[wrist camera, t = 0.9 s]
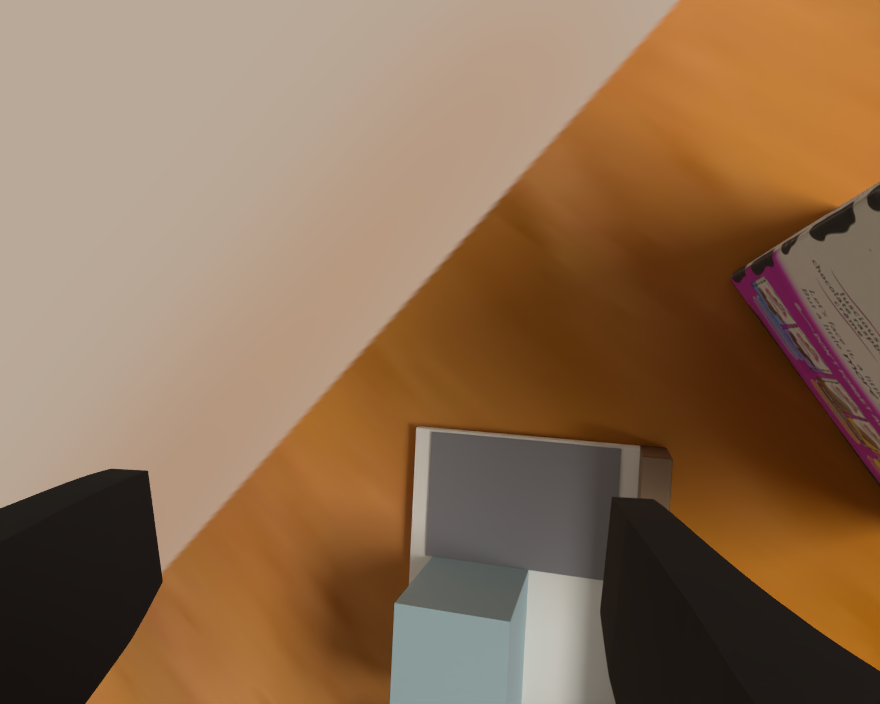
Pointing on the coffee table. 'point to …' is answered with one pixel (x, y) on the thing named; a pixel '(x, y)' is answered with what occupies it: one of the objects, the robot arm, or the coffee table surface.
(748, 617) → the robot arm
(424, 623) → the teal block
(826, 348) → the candy bar box
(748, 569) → the coffee table surface
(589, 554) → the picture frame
